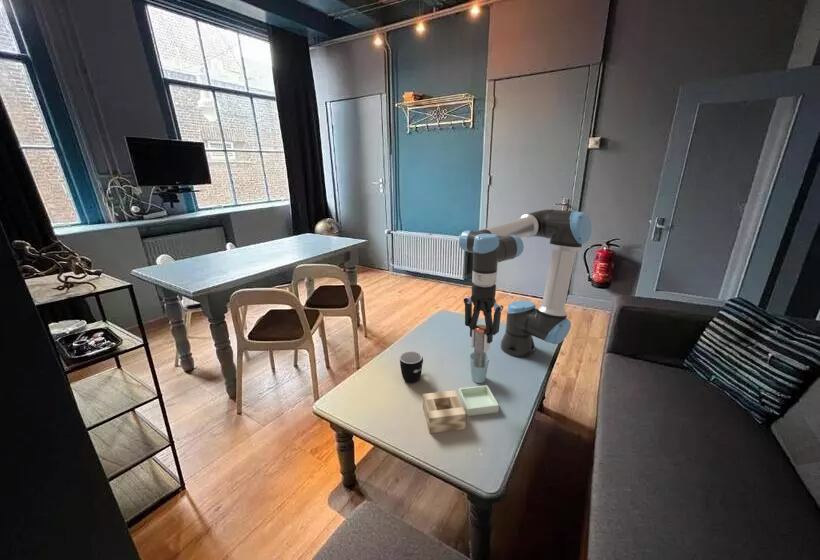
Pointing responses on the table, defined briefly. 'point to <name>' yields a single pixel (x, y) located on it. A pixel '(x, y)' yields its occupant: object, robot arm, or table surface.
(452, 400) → the eye block
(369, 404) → the table surface
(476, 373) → the cup
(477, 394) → the tray
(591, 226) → the robot arm
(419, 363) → the mug
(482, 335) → the peg
